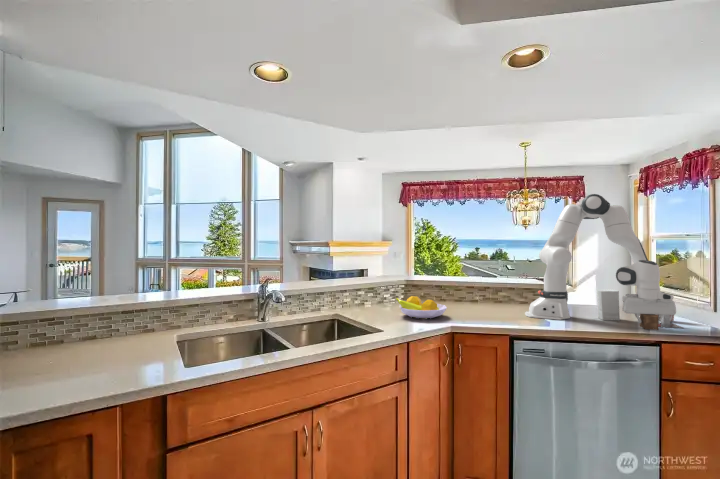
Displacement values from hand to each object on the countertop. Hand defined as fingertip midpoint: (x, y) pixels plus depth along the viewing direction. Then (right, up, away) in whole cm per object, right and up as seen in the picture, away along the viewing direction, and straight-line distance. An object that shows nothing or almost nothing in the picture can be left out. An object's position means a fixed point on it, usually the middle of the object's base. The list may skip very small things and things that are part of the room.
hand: (648, 323), depth 167 cm
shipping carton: (0, -2, 0) cm, 2 cm away
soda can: (+20, -2, +15) cm, 25 cm away
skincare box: (-5, -3, +19) cm, 20 cm away
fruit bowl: (-103, -4, +31) cm, 108 cm away
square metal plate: (+12, -2, +5) cm, 13 cm away
